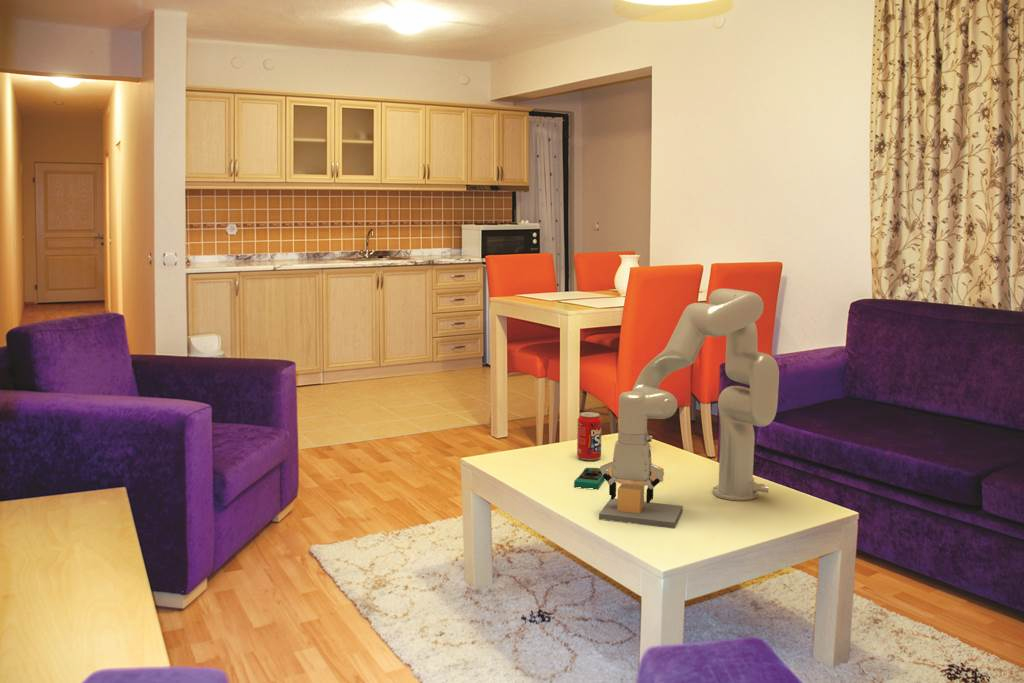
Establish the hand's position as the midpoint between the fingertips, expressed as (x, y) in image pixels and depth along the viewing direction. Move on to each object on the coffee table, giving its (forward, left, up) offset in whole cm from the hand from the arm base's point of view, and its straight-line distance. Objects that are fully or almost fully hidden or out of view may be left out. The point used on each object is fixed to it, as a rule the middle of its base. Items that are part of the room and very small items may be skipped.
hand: (631, 499), depth 244 cm
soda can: (+24, -49, -4) cm, 55 cm away
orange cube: (0, 0, -2) cm, 2 cm away
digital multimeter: (+17, -24, -5) cm, 30 cm away
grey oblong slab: (-3, 0, -4) cm, 5 cm away
